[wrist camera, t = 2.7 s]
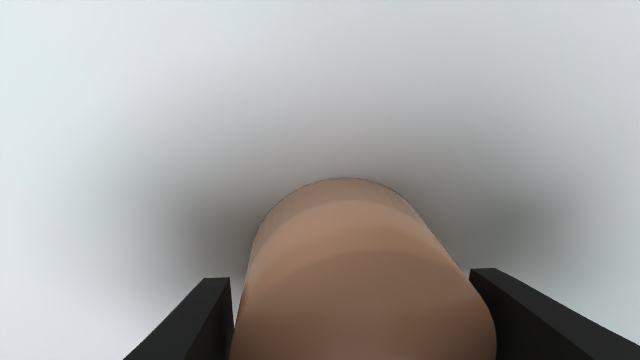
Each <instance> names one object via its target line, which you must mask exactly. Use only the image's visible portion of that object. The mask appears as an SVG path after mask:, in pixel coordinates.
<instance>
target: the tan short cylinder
mask: <svg viewBox="0 0 640 360" xmlns="http://www.w3.org/2000/svg"><path fill="white" fill-rule="evenodd" d="M496 350H497V342H496V331H495V327H494V322H493V319H492V317H491V314H490V312H489V309H488V307H487V306H486V304H485V302H484V301H483V299H482V297H481V296H480V295H479V293H478V292H477V291H476V289H475V288H474V287H473V285H472V284H471V283H470V281H469V280H468V279H467V277H466V276H465V275H464V273H463V272H462V271H461V270H460V268H459V267H458V266H457V264H456V263H455V262H454V260H453V259H452V258H451V256H450V255H449V254H448V252H447V251H446V250H445V249H444V247H443V246H442V245H441V243H440V242H439V241H438V239H437V238H436V237H435V235H434V234H433V233H432V231H431V230H430V229H429V227H428V226H427V225H426V224H425V222H424V221H423V220H422V218H421V217H420V216H419V214H418V213H417V212H416V210H415V209H414V208H413V207H412V206H411V205H410V203H409V202H408V201H406V200H405V199H404V198H403V197H402V196H401V195H399V194H398V193H396V192H394V191H393V190H391V189H390V188H387V187H385V186H383V185H381V184H378V183H375V182H372V181H368V180H363V179H357V178H334V179H327V180H322V181H318V182H315V183H312V184H309V185H306V186H304V187H302V188H300V189H298V190H296V191H294V192H292V193H291V194H289V195H288V196H286V197H285V198H283V199H282V200H281V201H280V202H279V203H278V204H276V205H275V206H274V207H273V208H272V210H271V211H270V212H269V213H268V214H267V215H266V217H265V218H264V220H263V221H262V223H261V224H260V226H259V228H258V230H257V232H256V234H255V238H254V241H253V244H252V248H251V253H250V257H249V262H248V267H247V272H246V276H245V281H244V286H243V291H242V295H241V300H240V305H239V310H238V314H237V319H236V324H235V328H234V333H233V338H232V343H231V347H230V354H229V360H495V358H496Z"/></svg>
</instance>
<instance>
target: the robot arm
mask: <svg viewBox="0 0 640 360" xmlns="http://www.w3.org/2000/svg"><path fill="white" fill-rule="evenodd" d="M469 281H470V283H471V284H472V285H473V287H474V288H475V289H476V291H477V292H478V293H479V295H480V296H481V297H482V299H483V301H484V302H485V304H486V306H487V307H488V309H489V312H490V314H491V317H492V319H493V322H494V327H495V331H496V342H497V350H496V358H495V360H640V346H639V345H637V344H635V343H633V342H631V341H629V340H627V339H625V338H623V337H622V336H620V335H618V334H616V333H614V332H612V331H610V330H608V329H606V328H604V327H602V326H600V325H598V324H597V323H595V322H593V321H591V320H589V319H587V318H585V317H584V316H582V315H580V314H578V313H576V312H575V311H573V310H571V309H569V308H567V307H566V306H564V305H562V304H560V303H558V302H557V301H555V300H553V299H551V298H549V297H548V296H546V295H544V294H542V293H541V292H539V291H537V290H535V289H534V288H532V287H530V286H528V285H526V284H525V283H523V282H521V281H519V280H517V279H515V278H513V277H512V276H510V275H508V274H506V273H504V272H502V271H500V270H497V269H495V268H482V269H471V270H470V276H469ZM233 333H234V321H233V310H232V299H231V287H230V277H226V278H204V279H203V280H202V281H201V282H200V283H199V284H198V285H197V286H196V287H195V288H194V289H193V290H192V291H191V292H190V293H189V294H188V295H187V296H186V297H185V298H184V299H183V301H182V302H181V303H180V304H179V305H178V306H177V307H176V308H175V309H174V310H173V311H172V312H171V313H170V314H169V315H168V316H167V317H166V318H165V319H164V320H163V321H162V322H161V323H160V324H159V325H158V326H157V327H156V328H155V329H154V330H153V331H152V332H151V333H150V334H149V335H148V336H147V337H146V338H145V339H144V340H143V341H142V342H141V343H140V344H139V345H138V346H137V347H136V348H135V349H134V350H133V351H132V352H131V353H129V354H128V355H127V356H126V357H125V358H124V359H123V360H229V354H230V347H231V343H232V338H233Z"/></svg>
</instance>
